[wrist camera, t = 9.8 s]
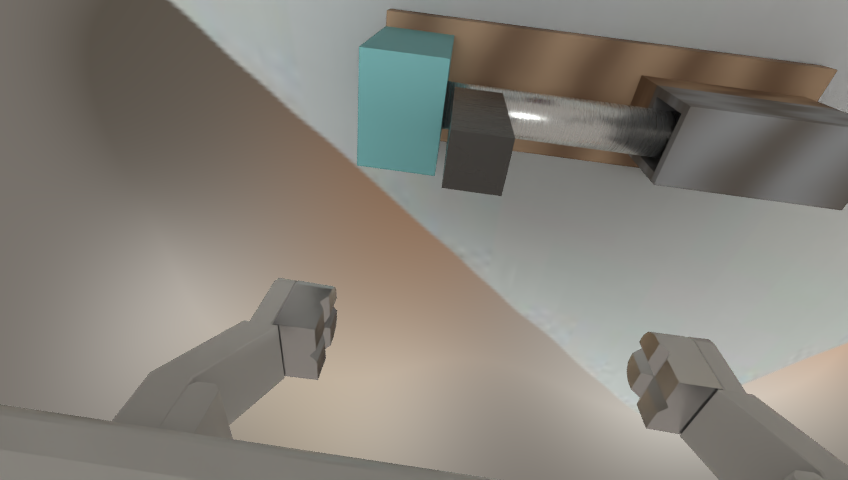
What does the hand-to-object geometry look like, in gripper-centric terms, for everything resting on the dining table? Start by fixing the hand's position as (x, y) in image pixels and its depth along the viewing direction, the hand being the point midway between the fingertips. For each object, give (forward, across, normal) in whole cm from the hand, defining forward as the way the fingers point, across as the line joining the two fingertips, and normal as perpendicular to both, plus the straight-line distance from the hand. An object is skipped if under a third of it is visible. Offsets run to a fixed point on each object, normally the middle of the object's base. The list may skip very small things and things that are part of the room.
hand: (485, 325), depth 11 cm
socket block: (+25, +5, 0) cm, 26 cm away
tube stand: (+27, -10, 0) cm, 28 cm away
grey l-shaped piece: (+21, -4, 0) cm, 21 cm away
